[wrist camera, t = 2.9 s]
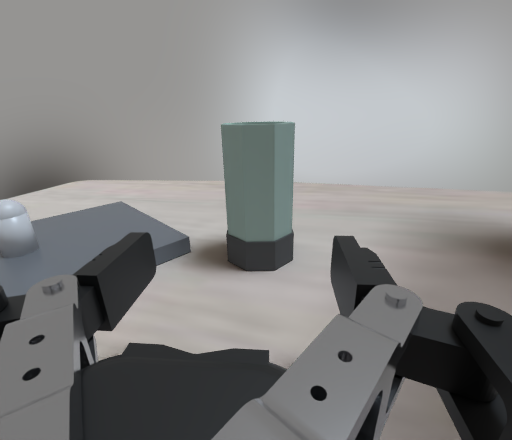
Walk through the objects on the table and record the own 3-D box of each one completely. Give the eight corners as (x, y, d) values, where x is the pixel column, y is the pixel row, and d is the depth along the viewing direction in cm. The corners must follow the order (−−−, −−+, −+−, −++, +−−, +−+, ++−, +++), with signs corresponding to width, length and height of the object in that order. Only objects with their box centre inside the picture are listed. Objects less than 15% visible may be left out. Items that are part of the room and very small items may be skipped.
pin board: (123, 212, 36) (113, 167, 34) (190, 251, 25) (183, 189, 23) (-165, 284, 21) (-214, 213, 19) (-291, 446, 11) (-432, 328, 9)
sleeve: (259, 235, 28) (257, 121, 24) (304, 253, 24) (310, 121, 20) (216, 254, 24) (205, 124, 20) (261, 278, 21) (258, 125, 17)
